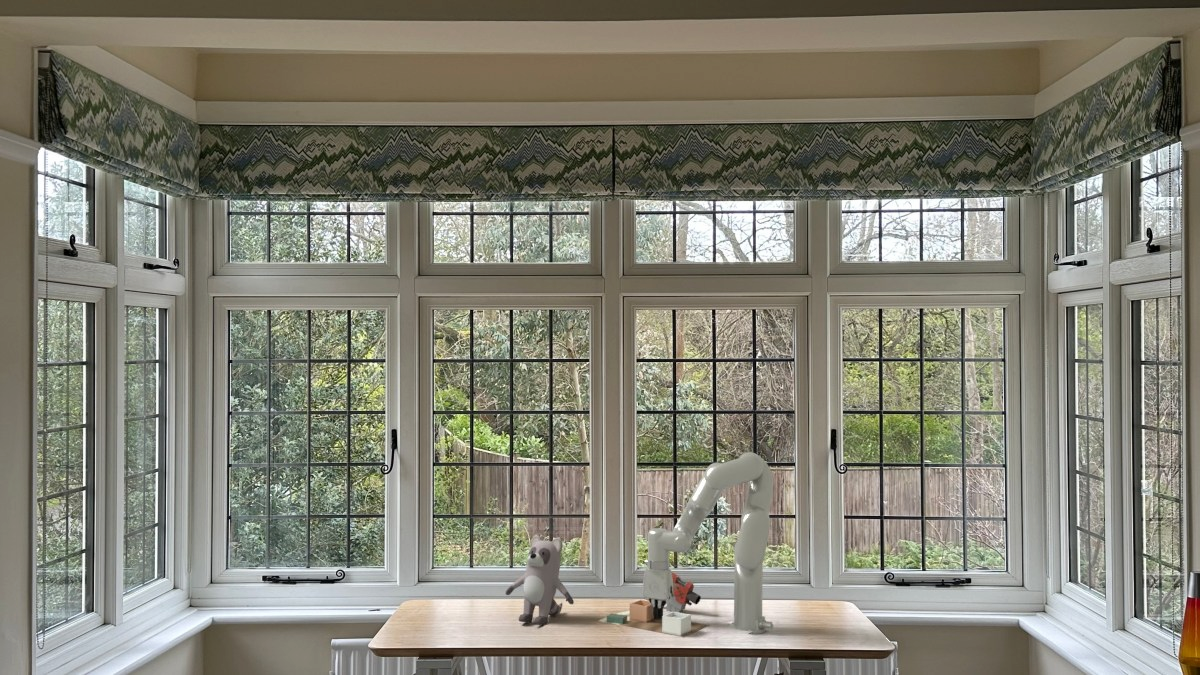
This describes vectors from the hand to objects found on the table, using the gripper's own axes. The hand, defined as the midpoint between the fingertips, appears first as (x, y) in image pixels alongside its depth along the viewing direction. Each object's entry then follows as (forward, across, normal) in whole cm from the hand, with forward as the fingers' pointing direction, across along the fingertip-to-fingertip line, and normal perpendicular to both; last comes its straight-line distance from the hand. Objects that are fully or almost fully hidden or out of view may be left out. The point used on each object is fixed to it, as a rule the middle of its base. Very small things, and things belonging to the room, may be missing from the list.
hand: (658, 618), depth 327 cm
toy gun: (+3, -3, +16) cm, 17 cm away
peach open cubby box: (+1, -6, 0) cm, 6 cm away
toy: (+3, -36, -17) cm, 40 cm away
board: (+2, -1, -2) cm, 3 cm away
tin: (+1, -12, -8) cm, 14 cm away
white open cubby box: (+1, +11, -7) cm, 13 cm away
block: (+1, +11, -7) cm, 13 cm away
